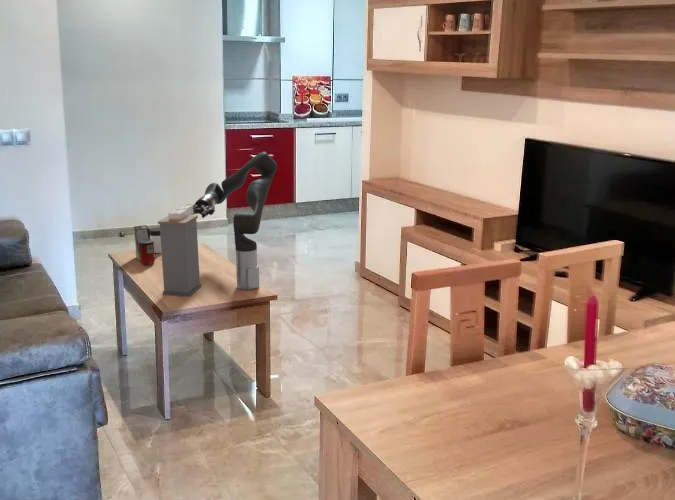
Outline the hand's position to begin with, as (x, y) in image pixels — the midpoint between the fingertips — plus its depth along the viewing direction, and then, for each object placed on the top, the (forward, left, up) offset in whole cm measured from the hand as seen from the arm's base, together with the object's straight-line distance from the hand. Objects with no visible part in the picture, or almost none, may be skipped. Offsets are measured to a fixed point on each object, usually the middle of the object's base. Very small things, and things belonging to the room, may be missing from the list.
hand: (193, 215), depth 324 cm
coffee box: (+43, +1, -29) cm, 52 cm away
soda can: (+33, +5, -29) cm, 44 cm away
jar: (+49, -11, -29) cm, 58 cm away
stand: (-13, +16, -28) cm, 35 cm away
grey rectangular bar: (-10, +12, +4) cm, 16 cm away
